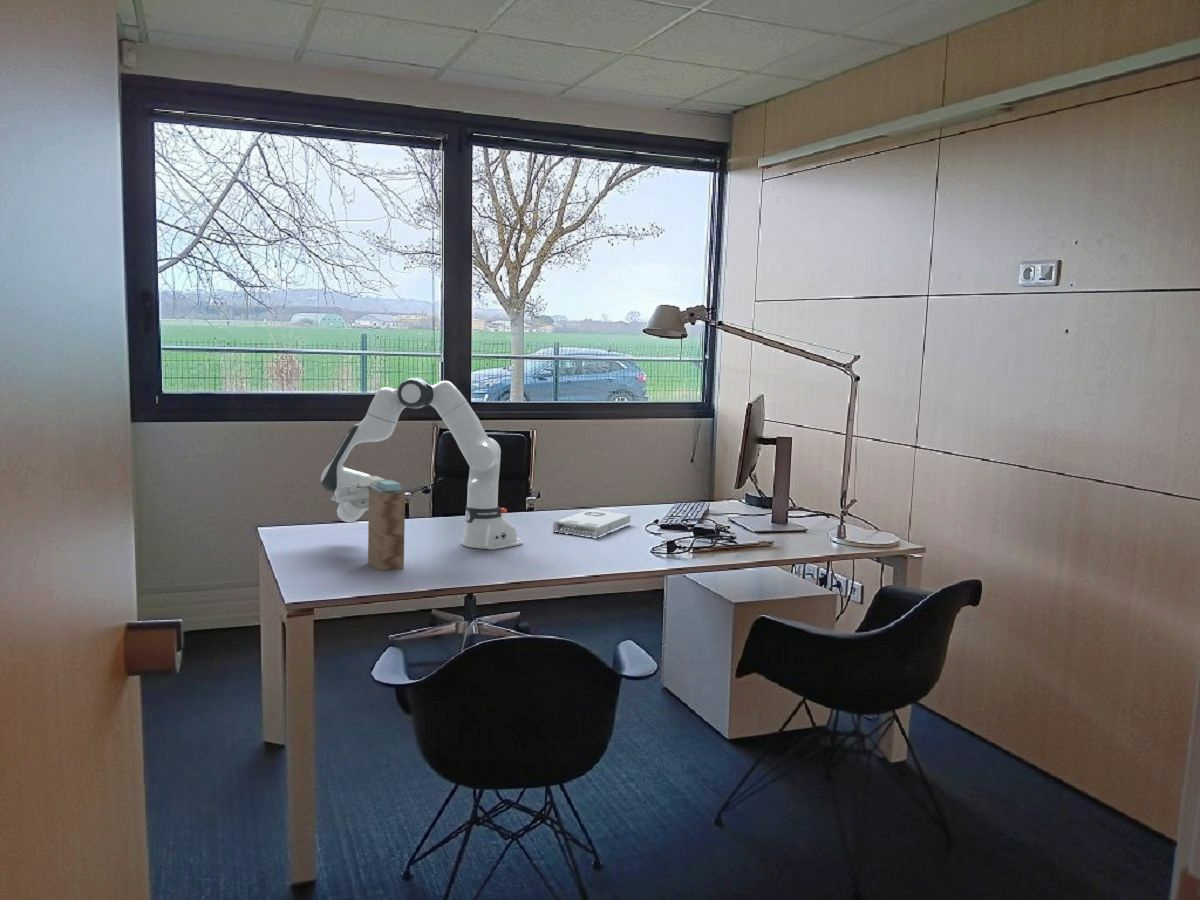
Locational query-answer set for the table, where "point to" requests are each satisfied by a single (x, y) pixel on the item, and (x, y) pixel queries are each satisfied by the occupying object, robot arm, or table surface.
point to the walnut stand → (386, 528)
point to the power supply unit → (591, 523)
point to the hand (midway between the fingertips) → (371, 484)
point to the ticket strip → (383, 483)
